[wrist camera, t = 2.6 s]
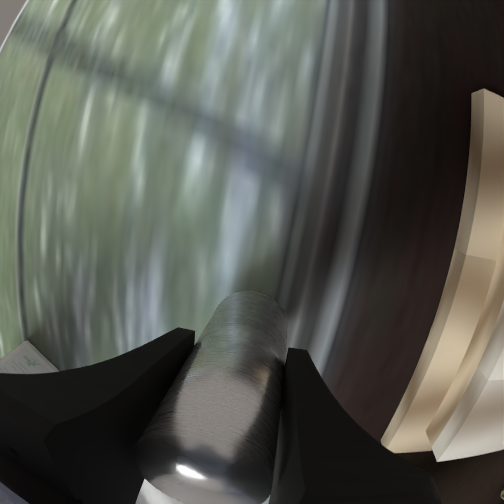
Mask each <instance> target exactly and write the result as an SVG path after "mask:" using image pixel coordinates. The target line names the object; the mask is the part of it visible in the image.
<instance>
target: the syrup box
mask: <svg viewBox="0 0 504 504" xmlns="http://www.w3.org/2000/svg"><path fill="white" fill-rule="evenodd" d="M51 372H59V370H58V369H57V368H56V367H55V366H54V365H53V364H51V363H50V362H49V361H48V360H47V359H46V358H45V357H44V356H43V355H42V354H41V353H40V352H39V351H38V350H37V349H36V348H35V347H34V346H33V345H32V344H31V343H30V342H29V341H28V340H27V341H24V342H23V343H22V344H20V345H19V346H18V347H16V348H15V349H14V350H12V351H11V352H10V353H8V354H7V355H5V356H4V357H3V358H1V359H0V373H12V374H38V373H51Z"/></svg>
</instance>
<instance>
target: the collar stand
mask: <svg viewBox="0 0 504 504" xmlns="http://www.w3.org/2000/svg"><path fill="white" fill-rule="evenodd" d="M471 95H472V104H471V135H470V150H469V161H468V171H467V179H466V187H465V194H464V201H463V207H462V213H461V218H460V224H459V229H458V234H457V239H456V243H455V248H454V252H453V256H452V260H451V264H450V268H449V272H448V276H447V279H446V283H445V287H444V290H443V293H442V297H441V300H440V303H439V307H438V310H437V313H436V316H435V319H434V322H433V325H432V327H431V330H430V333H429V336H428V339H427V341H426V344H425V347H424V349H423V352H422V354H421V357H420V359H419V362H418V364H417V367H416V369H415V371H414V374H413V376H412V378H411V381H410V383H409V385H408V387H407V389H406V392H405V394H404V396H403V398H402V400H401V402H400V404H399V406H398V408H397V410H396V412H395V414H394V416H393V418H392V420H391V422H390V424H389V426H388V428H387V430H386V431H385V433H384V435H383V437H382V439H381V443H382V445H383V446H384V447H386V448H387V449H389V450H390V451H392V452H393V453H405V452H420V451H431V450H433V452H434V455H435V458H436V461H437V462H440V461H447V460H454V459H460V458H466V457H471V456H476V455H481V454H486V453H490V452H495V451H499V450H503V449H504V98H503V97H501V96H499V95H497V94H495V93H492V92H490V91H488V90H486V89H481V90H479V91H476V92H474V93H471Z"/></svg>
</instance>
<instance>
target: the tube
mask: <svg viewBox="0 0 504 504" xmlns="http://www.w3.org/2000/svg"><path fill="white" fill-rule="evenodd" d="M287 331H288V322H287V317H286V314H285V312H284V310H283V309H282V307H281V306H280V305H279V304H278V303H277V302H276V301H275V300H274V299H273V298H271V297H270V296H268V295H266V294H263V293H260V292H256V291H239V292H236V293H233V294H231V295H229V296H227V297H226V298H225V299H224V300H222V302H221V303H220V304H219V305H218V307H217V308H216V310H215V312H214V314H213V315H212V317H211V319H210V320H209V322H208V324H207V325H206V327H205V329H204V331H203V332H202V334H201V336H200V337H199V339H198V341H197V342H196V344H195V346H194V347H193V349H192V351H191V353H190V354H189V356H188V358H187V359H186V361H185V363H184V364H183V366H182V368H181V370H180V371H179V373H178V375H177V376H176V378H175V380H174V381H173V383H172V385H171V387H170V388H169V390H168V392H167V393H166V395H165V397H164V398H163V400H162V402H161V404H160V405H159V407H158V409H157V410H156V412H155V414H154V416H153V417H152V419H151V421H150V422H149V424H148V426H147V427H146V429H145V431H144V433H143V434H142V436H141V438H140V439H139V441H138V443H137V444H136V446H135V448H134V451H133V458H134V462H135V465H136V467H137V469H138V470H139V472H140V473H141V474H142V476H143V477H144V478H145V479H146V480H147V481H148V482H149V483H150V484H152V485H153V486H154V487H155V488H157V489H158V490H160V491H161V492H163V493H164V494H166V495H168V496H170V497H172V498H174V499H176V500H178V501H181V502H183V503H186V504H261V503H263V502H264V501H265V500H266V499H267V498H268V497H269V495H270V494H271V490H272V483H273V475H274V467H275V459H276V450H277V441H278V432H279V422H280V412H281V402H282V392H283V379H284V368H285V357H286V344H287Z"/></svg>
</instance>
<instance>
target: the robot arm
mask: <svg viewBox="0 0 504 504" xmlns="http://www.w3.org/2000/svg"><path fill="white" fill-rule="evenodd" d="M194 342H195V331H193V330H188V329H183V328H179V327H178V328H176V329H174V330H172V331H170V332H168V333H166V334H164V335H162V336H160V337H158V338H156V339H155V340H153V341H151V342H149V343H147V344H145V345H143V346H141V347H138V348H136V349H134V350H131V351H129V352H127V353H124V354H122V355H120V356H117V357H115V358H112V359H109V360H106V361H103V362H100V363H97V364H93V365H90V366H86V367H81V368H76V369H71V370H65V371H59V372H51V373H38V374H12V373H0V504H135V503H136V500H137V497H138V494H139V492H140V489H141V486H142V484H143V481H144V479H145V478H144V477H143V476H142V474H141V473H140V472H139V470H138V469H137V467H136V465H135V462H134V458H133V451H134V448H135V446H136V444H137V443H138V441H139V439H140V438H141V436H142V434H143V433H144V431H145V429H146V427H147V426H148V424H149V422H150V421H151V419H152V417H153V416H154V414H155V412H156V410H157V409H158V407H159V405H160V404H161V402H162V400H163V398H164V397H165V395H166V393H167V392H168V390H169V388H170V387H171V385H172V383H173V381H174V380H175V378H176V376H177V375H178V373H179V371H180V370H181V368H182V366H183V364H184V363H185V361H186V359H187V358H188V356H189V354H190V353H191V351H192V349H193V347H194ZM269 504H441V501H440V497H439V493H438V490H437V486H436V484H435V481H434V479H433V476H432V474H431V473H429V472H427V471H425V470H423V469H421V468H419V467H417V466H415V465H413V464H411V463H410V462H408V461H406V460H404V459H402V458H401V457H399V456H398V455H396V454H395V453H393V452H392V451H390V450H389V449H387V448H386V447H384V446H383V445H382V444H380V443H379V442H378V441H376V440H375V439H374V438H373V437H372V436H370V435H369V434H368V433H367V432H366V431H365V430H363V429H362V428H361V427H360V426H359V425H358V424H357V423H356V422H355V421H354V420H353V419H352V418H351V417H350V416H349V415H348V413H347V412H346V411H345V410H344V409H343V408H342V407H341V405H340V404H339V403H338V401H337V400H336V399H335V397H334V396H333V395H332V393H331V392H330V390H329V389H328V387H327V386H326V384H325V382H324V381H323V379H322V378H321V376H320V374H319V372H318V371H317V369H316V367H315V365H314V363H313V361H312V359H311V357H310V355H309V353H308V352H307V350H303V349H295V348H288V352H287V357H286V362H285V368H284V379H283V392H282V402H281V412H280V422H279V432H278V441H277V450H276V459H275V467H274V475H273V483H272V490H271V494H270V500H269Z"/></svg>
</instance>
